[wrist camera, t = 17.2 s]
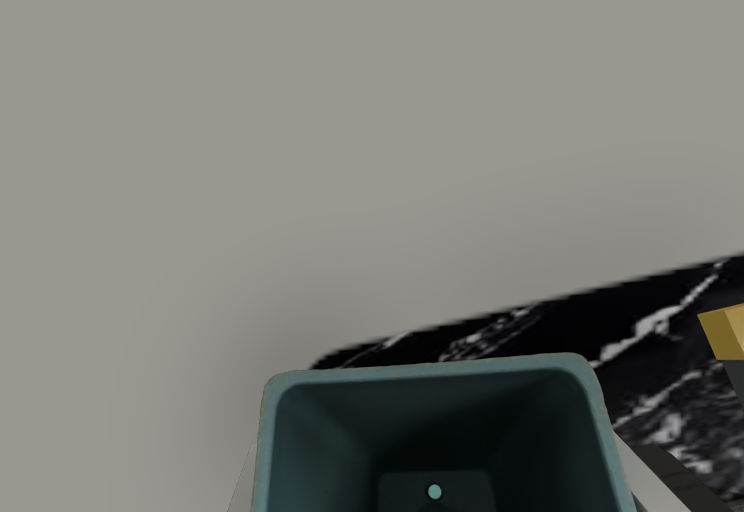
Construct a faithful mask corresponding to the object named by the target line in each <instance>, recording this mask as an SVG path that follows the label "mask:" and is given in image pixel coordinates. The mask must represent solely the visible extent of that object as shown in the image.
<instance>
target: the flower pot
mask: <svg viewBox="0 0 744 512" xmlns="http://www.w3.org/2000/svg"><path fill="white" fill-rule="evenodd" d="M259 424H260V425H259V432H258V443H257V454H256V461H255V473H254V482H253V490H252V500H251V508H250V512H637V510H636V507H635V504H634V500H633V496H632V494H631V491H630V487H629V483H628V481H627V478H626V474H625V471H624V468H623V464H622V460H621V457H620V454H619V451H618V448H617V444H616V441H615V436H614V434H613V431H612V427H611V423H610V420H609V416H608V413H607V408H606V406H605V404H604V398H603V393H602V389H601V386H600V384H599V381H598V379H597V377H596V374H595V372H594V370H593V369H592V367H591V366H590V364H589V363H588V362H587V360H586V359H585V358H584V357H583V356H581V355H578V354H575V353H567V352H566V353H548V354H536V355H526V356H514V357H502V358H487V359H480V360H464V361H456V362H437V363H421V364H411V365H398V366H386V367H384V366H379V367H364V368H347V369H326V370H299V371H298V370H297V371H289V372H285V373H281V374H277V375H275V376H273V377H272V378H270V379H269V381H268V382H267V383H266V385H265V387H264V392H263V397H262V402H261V409H260V423H259ZM432 485H437V486H439V487H440V489H441V495H440V497H439V498H437V499H434V498H432V497H430V495H429V488H430V487H431V486H432Z"/></svg>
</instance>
